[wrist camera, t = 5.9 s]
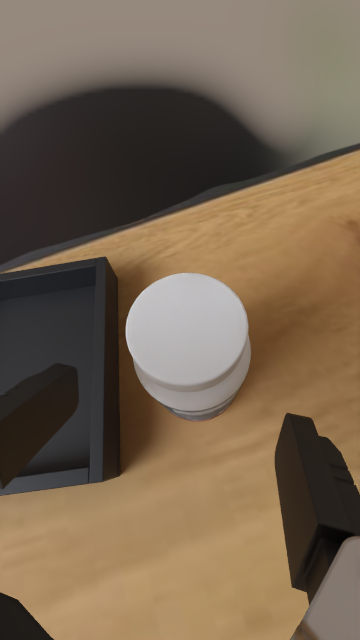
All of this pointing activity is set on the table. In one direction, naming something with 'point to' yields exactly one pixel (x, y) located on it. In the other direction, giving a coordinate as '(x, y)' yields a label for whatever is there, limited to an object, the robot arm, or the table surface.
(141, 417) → the table surface
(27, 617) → the robot arm
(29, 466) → the tray
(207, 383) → the pill bottle
